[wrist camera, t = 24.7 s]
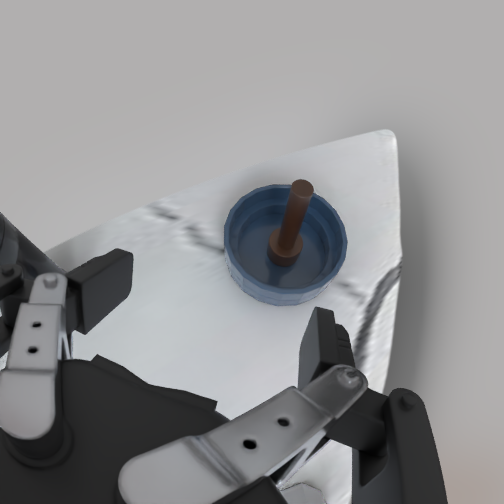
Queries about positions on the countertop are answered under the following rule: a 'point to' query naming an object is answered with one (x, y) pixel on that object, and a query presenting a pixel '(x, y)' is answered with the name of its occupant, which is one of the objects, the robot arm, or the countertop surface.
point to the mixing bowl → (256, 242)
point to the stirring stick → (290, 226)
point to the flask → (303, 495)
